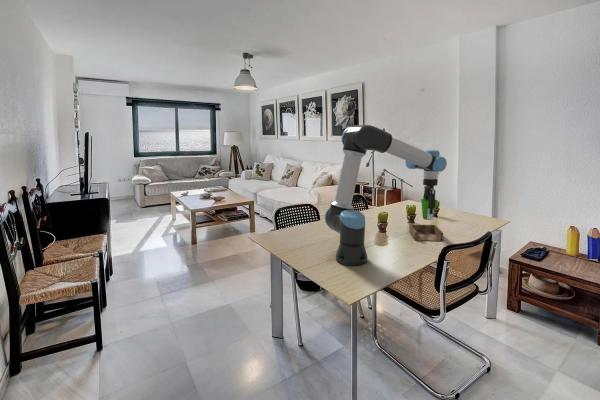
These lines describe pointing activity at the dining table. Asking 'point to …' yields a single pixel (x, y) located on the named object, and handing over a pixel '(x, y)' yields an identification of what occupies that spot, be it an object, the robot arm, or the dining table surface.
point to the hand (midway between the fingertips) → (427, 217)
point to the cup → (426, 208)
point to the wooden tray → (425, 232)
